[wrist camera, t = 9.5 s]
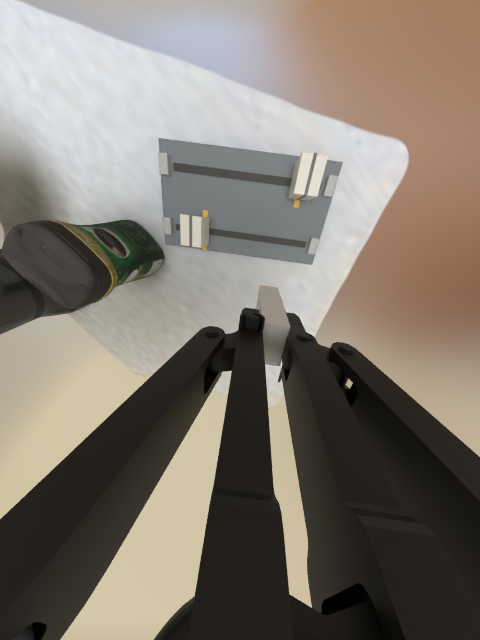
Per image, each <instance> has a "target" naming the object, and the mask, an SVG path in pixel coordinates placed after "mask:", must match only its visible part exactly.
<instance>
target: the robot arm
mask: <svg viewBox="0 0 480 640" xmlns="http://www.w3.org/2000/svg"><path fill="white" fill-rule="evenodd" d="M1 250H2V249H0V334H2V333H5V332H7V331H9V330H12V329H14V328H16V327H18V326H21V325H23V324H25V323H28V322H30V321H32V320H34V319H36V318H39V317H44V316H52V315H59V314H67V313H72V312H75V311H77V310H79V309H81V308H83V307H85V306H86V305H85V306H83V307H80V308H77V309H68V308H65V307H63V306H61V305H60V304H58V303H57V302H55V301H54V300H53V299H51V298H50V297H48V296H47V295H46V294H44V293H43V292H42V291H40V290H39V289H38V288H37V287H35V286H34V285H33V284H32V283H30V282H29V281H28V280H27V279H25V278H24V277H23V276H22V275H21V274H19V273H18V272H17V271H16V270H15V269H14V268H13V267H12V266H11V264H10V263H9V262H8V261H7V259H6V258H4V257H3V256H2V255H1ZM281 359H282V363H283V365H282V368H281V372H280V375H279V379H278V382H280V380H281V378H282V382H283V388H284V394H285V400H286V407H287V413H288V419H289V425H290V431H291V437H292V443H293V448H294V455H295V461H296V467H297V474H298V480H299V486H300V492H301V498H302V504H303V510H304V516H305V522H306V528H307V535H308V558H307V571H308V581H309V589H310V596H311V603H312V608H311V607H309V606H308V605H306V604H304V603H303V602H301V601H299V600H298V599H296V598H294V597H293V596H291V595H289V587H288V576H287V565H286V555H285V543H284V532H283V523H282V515H281V511H280V506H279V502H278V501H277V499H276V497H275V494H274V488H273V475H272V460H271V446H270V431H269V416H268V401H267V387H266V372H265V364H269V365H276V366H280V363H281ZM231 370H232V374H231V380H230V386H229V393H228V399H227V406H226V412H225V418H224V424H223V430H222V437H221V443H220V449H219V456H218V462H217V468H216V475H215V481H214V486H213V491H212V495H211V501H210V507H209V512H208V519H207V524H206V530H205V537H204V543H203V549H202V555H201V561H200V568H199V574H198V580H197V587H196V592H195V596H194V597H193V598H192V599H191V600H189V601H188V602H187V603H185V604H184V605H183V606H182V607H181V608H180V609H179V610H178V611H177V612H176V613H175V614H174V615H173V616H172V617H171V618H170V620H169V621H168V622H167V623H166V624H165V626H164V627H163V628H162V630H161V631H160V632H159V633H158V635H157V636H156V637H155V639H154V640H480V457H479V456H478V455H477V454H475V453H474V452H473V451H472V450H471V449H470V448H469V447H467V446H466V445H465V444H464V443H463V442H462V441H461V440H460V439H458V438H457V437H456V436H455V435H454V434H453V433H452V432H450V431H449V430H448V429H447V428H446V427H445V426H443V425H442V424H441V423H440V422H439V421H438V420H437V419H436V418H434V417H433V416H432V415H431V414H430V413H429V412H428V411H426V410H425V409H424V408H423V407H422V406H421V405H419V404H418V403H417V402H416V401H415V400H414V399H413V398H411V397H410V396H409V395H408V394H407V393H406V392H405V391H404V390H402V389H401V388H400V387H399V386H398V385H397V384H396V383H394V382H393V381H392V380H391V379H390V378H389V377H388V376H386V375H385V374H384V373H383V372H382V371H381V370H380V369H378V368H377V367H376V366H375V365H374V364H373V363H372V362H371V361H369V360H368V359H367V358H366V357H365V356H364V355H363V354H361V353H360V352H359V351H358V350H357V349H355V348H354V347H352V346H350V345H349V344H345V343H340V342H336V343H333V344H332V346H331V348H328V347H325V346H321V345H319V344H318V343H317V341H316V339H315V338H314V336H312V335H311V334H309V333H307V332H306V331H305V329H304V327H303V325H302V323H301V320H300V318H299V317H298V316H297V315H296V314H294V313H286V312H285V309H284V306H283V303H282V300H281V297H280V294H279V291H278V288H275V287H267V286H260V287H259V293H258V300H257V306H256V309H251V308H244V309H243V310H242V313H241V315H240V322H239V330H238V331H236V332H235V333H231V334H225V333H224V331H223V330H222V329H221V328H218V327H214V326H209V327H205V328H203V329H201V330H200V331H199V332H198V333H197V334H195V335H194V336H193V337H192V338H191V339H190V340H189V341H188V342H187V343H186V344H185V345H184V346H183V347H182V348H181V349H180V350H179V351H178V352H176V353H175V354H174V355H173V356H172V357H171V358H170V359H169V360H168V361H167V362H166V363H165V364H164V365H163V366H162V367H161V368H160V369H159V370H157V371H156V372H155V373H154V374H153V375H152V376H151V377H150V378H149V379H148V380H147V381H146V382H145V383H144V384H143V385H142V386H141V387H140V388H138V390H136V391H135V392H134V393H133V394H132V395H131V396H130V397H129V398H128V399H127V400H126V401H125V402H124V403H123V404H122V405H121V406H120V407H118V408H117V409H116V410H115V411H114V412H113V413H112V414H111V415H110V416H109V417H108V418H107V419H106V420H105V421H104V422H103V423H102V424H101V425H100V426H99V427H97V428H96V429H95V430H94V431H93V432H92V433H91V434H90V435H89V436H88V437H87V438H86V439H85V440H84V441H83V442H82V443H80V445H78V446H77V447H76V448H75V449H74V450H73V451H72V452H71V453H70V454H69V455H68V456H67V457H66V458H65V459H64V460H62V462H60V463H59V464H58V465H57V466H56V467H55V468H54V469H53V470H52V471H51V472H50V473H49V474H48V475H47V476H46V477H45V478H43V479H42V480H41V481H40V482H39V483H38V484H37V485H36V486H35V487H34V488H33V489H32V490H31V491H30V492H29V493H28V494H27V495H26V496H25V497H23V498H22V499H21V500H20V501H19V502H18V503H17V504H16V505H15V506H14V507H13V508H12V509H11V510H10V511H9V512H8V513H7V514H6V515H4V516H3V517H2V518H1V519H0V640H60V639H61V638H62V636H63V635H64V633H65V632H66V631H67V629H68V628H69V626H70V625H71V623H72V622H73V621H74V619H75V618H76V616H77V615H78V614H79V612H80V611H81V609H82V608H83V607H84V605H85V604H86V602H87V601H88V599H89V597H90V596H91V594H92V593H93V591H94V589H95V588H96V586H97V585H98V583H99V581H100V580H101V578H102V577H103V575H104V573H105V572H106V570H107V568H108V567H109V565H110V564H111V562H112V560H113V558H114V557H115V555H116V553H117V552H118V550H119V548H120V547H121V545H122V543H123V541H124V540H125V538H126V536H127V535H128V533H129V531H130V529H131V528H132V526H133V524H134V522H135V521H136V519H137V518H138V516H139V514H140V512H141V511H142V509H143V507H144V505H145V504H146V502H147V500H148V499H149V497H150V495H151V494H152V492H153V490H154V488H155V487H156V485H157V483H158V482H159V480H160V478H161V476H162V475H163V473H164V471H165V470H166V468H167V466H168V465H169V463H170V461H171V460H172V458H173V456H174V454H175V453H176V451H177V449H178V447H179V446H180V444H181V442H182V441H183V439H184V437H185V436H186V434H187V432H188V430H189V429H190V427H191V425H192V424H193V422H194V420H195V418H196V417H197V415H198V413H199V412H200V410H201V408H202V407H203V405H204V403H205V401H206V400H207V398H208V396H209V395H210V393H211V391H212V390H213V388H214V386H215V384H216V383H217V381H218V379H219V378H220V376H221V373H222V372H223V371H231ZM348 378H349V379H350V380H351V381H352V382H353V384H352V386H351V388H350V389H349V388H348V387H347V386H346V385H345V384H346V382H347V380H348Z"/></svg>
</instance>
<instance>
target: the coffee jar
mask: <svg viewBox="0 0 480 640" xmlns="http://www.w3.org/2000/svg"><path fill="white" fill-rule="evenodd" d="M1 255H2V256H3V257H4V258H6V259H7V261H8V262H9V263H10V264H11V266H12V267H13V268H14V269H15V270H16V271H17V272H18V273H19V274H21V275H22V276H23V277H24V278H25V279H27V280H28V281H29V282H30V283H32V284H33V285H34V286H35V287H37V288H38V289H39V290H40V291H42V292H43V293H44V294H46V295H47V296H48V297H50V298H51V299H53V300H54V301H55V302H57V303H58V304H60V305H61V306H63V307H65V308H68V309H77V308H80V307H83V306H85V305H89V304H91V303H95V302H98V301H100V300H102V299H103V298H105V297H106V296H107V295H108V294H110V293H111V291H112V290H113V289H114V288H115V287H116V286H119V285H121V284H125V283H128V282H131V281H134V280H138V279H142V278H145V277H147V276H149V275H151V274H153V273H154V272H155V271H157V270H158V268H159V267H160V266H161V264H162V262H163V253H162V251H161V249H160V247H159V246H158V245H157V243H156V242H155V241H154V240H153V238H152V237H151V236H150V235H149V234H148V233H147V232H146V231H145V230H144V229H143V228H142V227H141V226H139V225H138V224H137V223H135V222H133V221H131V220H120V221H113V222H108V223H102V224H94V225H73V224H69V223H65V222H61V221H55V220H44V221H36V222H28V223H24V224H21V225H18V226H16V227H14V228H13V229H12V230H11V231H10V232H9V234H8V236H7V237H6V239H5V241H4V244H3V247H2V250H1Z"/></svg>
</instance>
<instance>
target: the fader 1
mask: <svg viewBox="0 0 480 640" xmlns="http://www.w3.org/2000/svg"><path fill="white" fill-rule="evenodd" d="M209 222H210V218H206V217H202V216H195V215H184V214H180V234H181V245H185V246H189V247H199V248H201V247H204V246H206V245H208V244H209Z"/></svg>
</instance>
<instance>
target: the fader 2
mask: <svg viewBox="0 0 480 640" xmlns="http://www.w3.org/2000/svg"><path fill="white" fill-rule="evenodd" d="M327 159H328V155H320V154H317V153H305V152H302V154H301V155H300V157H299V159H298V160H297V162H296V163H295V166H294V171H293V175H292V180H291V185H290V190H289V195H288V198H289V199H296V200H304V201H309V200H311V199H313V198H315V197H317V196H318V193H319V189H320V185H321V181H322V178H323V174H324V170H325V166H326V163H327Z"/></svg>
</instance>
